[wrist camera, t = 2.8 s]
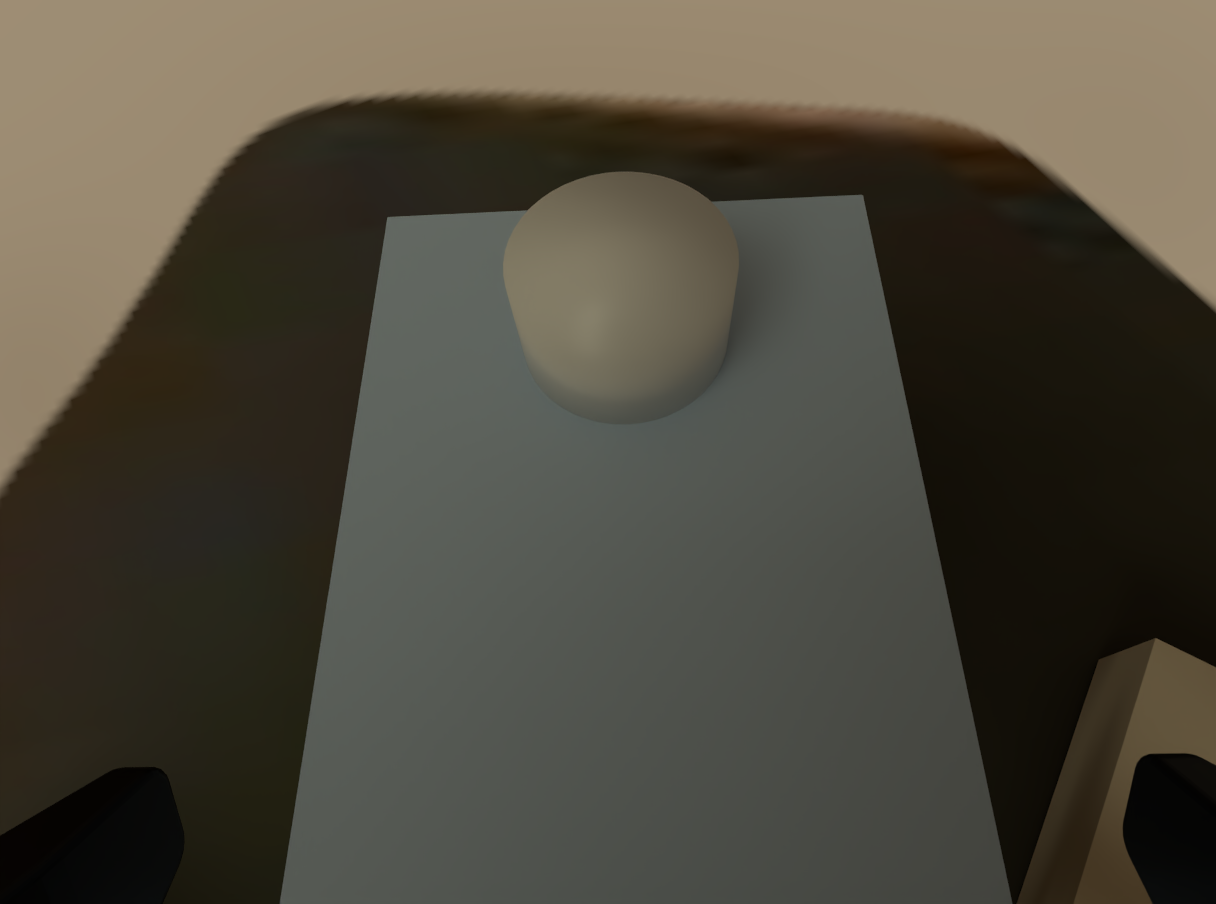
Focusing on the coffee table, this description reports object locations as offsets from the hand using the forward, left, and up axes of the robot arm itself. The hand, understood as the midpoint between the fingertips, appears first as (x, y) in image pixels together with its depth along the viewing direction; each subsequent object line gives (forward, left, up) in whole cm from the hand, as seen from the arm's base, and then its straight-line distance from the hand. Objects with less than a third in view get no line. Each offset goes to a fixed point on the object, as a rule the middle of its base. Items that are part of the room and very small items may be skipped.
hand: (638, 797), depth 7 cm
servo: (+2, 0, -9) cm, 9 cm away
